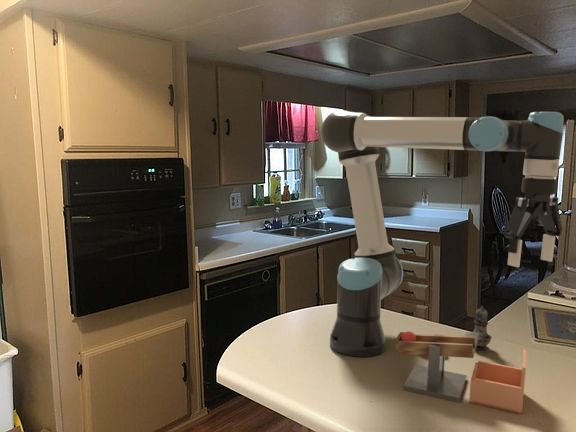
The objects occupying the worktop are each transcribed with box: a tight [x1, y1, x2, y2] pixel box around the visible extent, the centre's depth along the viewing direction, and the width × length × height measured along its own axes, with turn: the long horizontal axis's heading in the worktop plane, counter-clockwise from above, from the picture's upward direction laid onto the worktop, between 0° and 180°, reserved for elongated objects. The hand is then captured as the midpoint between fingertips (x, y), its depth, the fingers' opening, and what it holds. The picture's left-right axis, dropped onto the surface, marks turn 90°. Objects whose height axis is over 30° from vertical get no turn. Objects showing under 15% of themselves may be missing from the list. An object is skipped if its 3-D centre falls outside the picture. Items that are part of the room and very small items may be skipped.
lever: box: [394, 331, 479, 359], centre depth 116 cm, size 17×14×3 cm
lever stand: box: [402, 333, 467, 403], centre depth 113 cm, size 12×12×10 cm
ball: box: [401, 330, 416, 341], centre depth 115 cm, size 4×4×4 cm
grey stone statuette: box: [472, 305, 493, 353], centre depth 133 cm, size 6×6×12 cm
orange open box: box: [468, 349, 527, 415], centre depth 107 cm, size 10×10×10 cm
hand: (530, 263), depth 122 cm, fingers open, 13 cm apart
